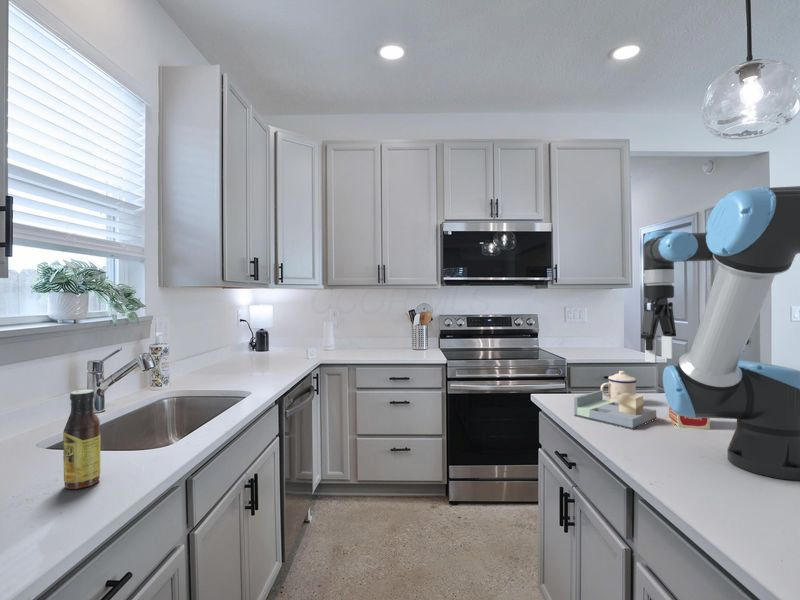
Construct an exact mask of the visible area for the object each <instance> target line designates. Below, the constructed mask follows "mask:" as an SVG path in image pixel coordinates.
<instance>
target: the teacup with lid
mask: <svg viewBox="0 0 800 600" xmlns="http://www.w3.org/2000/svg"><path fill="white" fill-rule="evenodd" d="M607 380H608V382H604V383H602V384H601V385H600V391H602V396H603V397H608V401H612V402H618V403H619V395H621V394H624V393H630V394H636V395H637V386H636V385H637V379H636V378H635V377H633V376H630V375H629V374H627V373H626V371H625V370H619V371H618V373H615V374H613V375H609V376H608V378H607ZM606 386H608V394H606V393H605V391H604V387H606Z"/></svg>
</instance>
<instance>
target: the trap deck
mask: <svg viewBox="0 0 800 600" xmlns="http://www.w3.org/2000/svg"><path fill="white" fill-rule="evenodd" d="M603 397H604V396H603V394H602V391H601V389H600V390H597V391H593V392H590V393H585V394H582V395H578V396H574V397H573V398H574V406H573V407H574V408H573V410H574V415H573V416H574V417H578V418H581V419H587V420H590V421H595V422H599V423H602V422H603V424H606V423H608V424H607V425H610V424H612V425H611V426H615V425H617V426H616V427H619V426H621V427H620V428H623V427H625V428H624V429H627V428H629V430H631V429H633V430H635V429H634V428H636V429H638V428H640V427H642V426H641V425H643V424H645V423H647V422H650V421H652V420H654V421H656V420H657V409H653V408H648V407H643V412H642V413H639V414H637V415H634V414H629V413H624V412H620V411H619V403H618V402H612V401H609V400H607V399H603ZM655 419H656V420H655ZM652 422H653V421H652ZM650 423H651V422H650ZM647 424H648V423H647ZM645 425H646V424H645ZM639 426H640V427H639ZM643 426H644V425H643ZM637 427H638V428H637Z"/></svg>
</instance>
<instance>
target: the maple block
mask: <svg viewBox="0 0 800 600" xmlns="http://www.w3.org/2000/svg"><path fill="white" fill-rule="evenodd" d="M643 408H644V395H641V394H637V393H636V394H630V393H624V394H621V395H619V411H620V412H624V413H629V414H634V415H637V414H639V413H642V412H643Z"/></svg>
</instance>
